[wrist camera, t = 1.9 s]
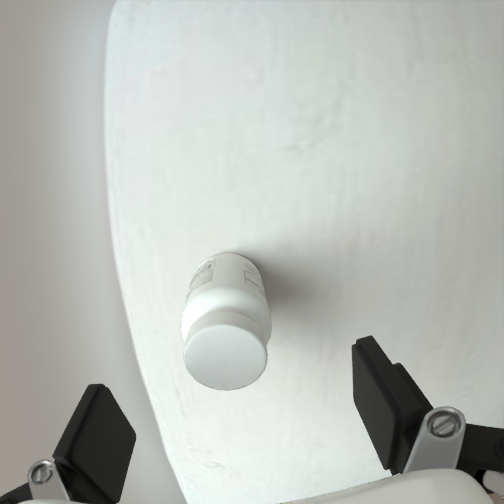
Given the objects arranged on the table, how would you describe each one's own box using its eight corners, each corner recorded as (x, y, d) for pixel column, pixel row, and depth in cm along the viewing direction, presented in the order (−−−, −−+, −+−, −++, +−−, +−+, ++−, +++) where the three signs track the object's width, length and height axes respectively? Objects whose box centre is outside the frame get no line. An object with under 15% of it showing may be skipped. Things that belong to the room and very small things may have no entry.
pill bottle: (191, 314, 20) (173, 395, 13) (192, 249, 19) (169, 310, 11) (258, 318, 20) (272, 400, 13) (265, 254, 19) (287, 317, 12)
